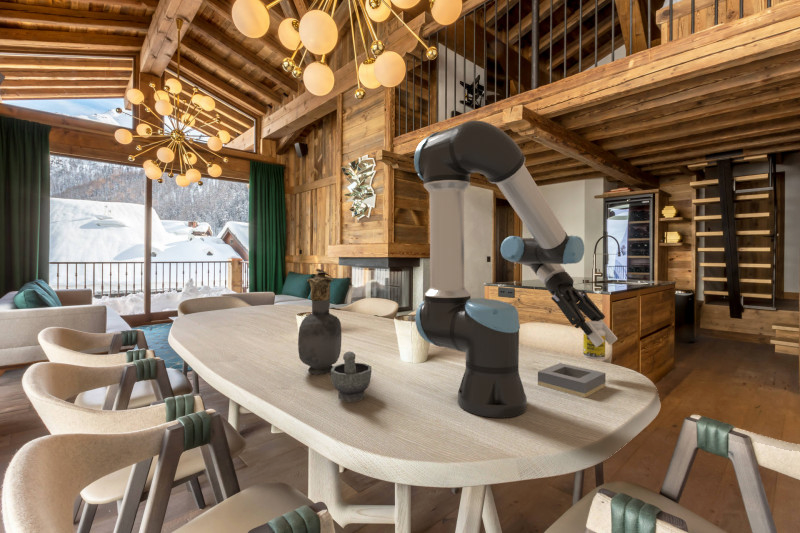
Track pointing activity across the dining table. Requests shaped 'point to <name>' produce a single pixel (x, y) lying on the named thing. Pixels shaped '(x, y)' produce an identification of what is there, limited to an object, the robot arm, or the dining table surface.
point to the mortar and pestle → (351, 378)
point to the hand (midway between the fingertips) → (606, 342)
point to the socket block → (572, 379)
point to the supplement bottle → (589, 347)
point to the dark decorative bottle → (320, 329)
